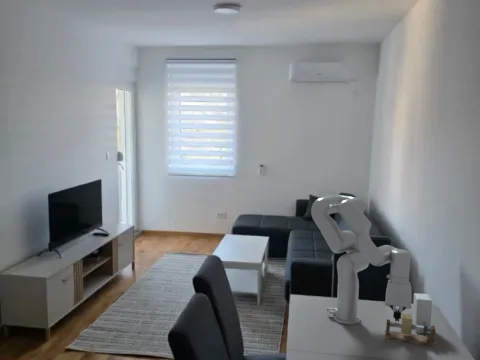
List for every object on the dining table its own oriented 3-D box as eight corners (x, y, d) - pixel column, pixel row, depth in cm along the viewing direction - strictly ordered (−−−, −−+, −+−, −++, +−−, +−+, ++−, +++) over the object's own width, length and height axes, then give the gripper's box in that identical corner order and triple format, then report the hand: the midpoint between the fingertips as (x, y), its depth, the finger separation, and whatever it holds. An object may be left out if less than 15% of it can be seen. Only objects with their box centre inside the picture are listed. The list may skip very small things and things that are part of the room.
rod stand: (385, 339, 191) (386, 321, 190) (384, 333, 197) (386, 315, 196) (435, 347, 186) (437, 328, 185) (433, 340, 192) (435, 322, 190)
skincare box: (430, 334, 197) (433, 301, 194) (414, 333, 198) (417, 299, 196) (426, 326, 205) (429, 293, 203) (411, 324, 206) (413, 292, 204)
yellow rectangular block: (401, 333, 190) (402, 318, 189) (400, 328, 194) (401, 313, 193) (411, 335, 189) (412, 319, 188) (410, 329, 193) (411, 314, 192)
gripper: (381, 279, 188) (378, 321, 190) (419, 283, 184) (416, 326, 186) (380, 274, 195) (378, 314, 197) (417, 277, 191) (414, 318, 193)
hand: (396, 319), depth 192 cm, fingers closed
